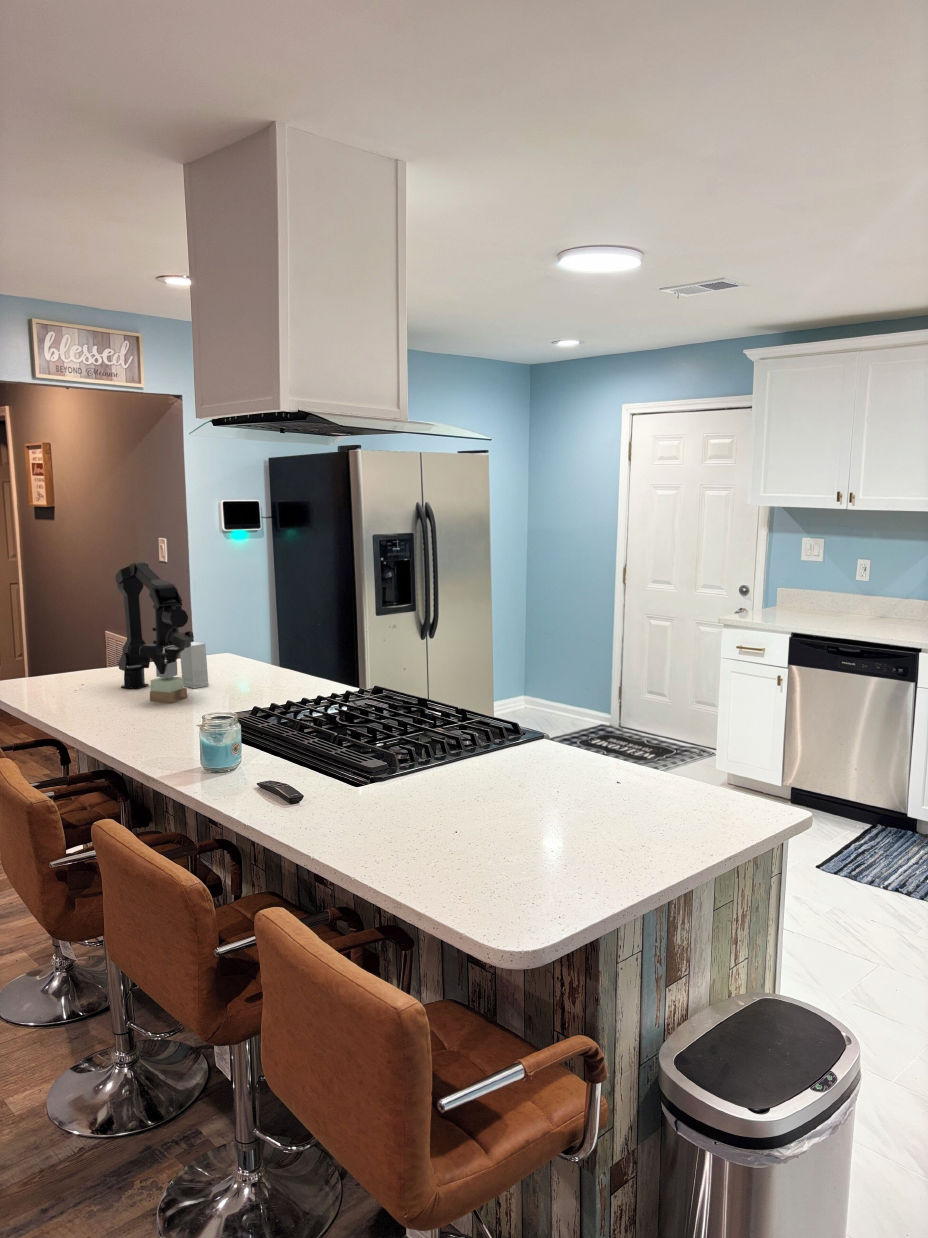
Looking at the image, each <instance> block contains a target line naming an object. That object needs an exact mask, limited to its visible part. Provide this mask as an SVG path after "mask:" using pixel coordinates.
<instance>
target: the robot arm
mask: <svg viewBox="0 0 928 1238" xmlns="http://www.w3.org/2000/svg"><path fill="white" fill-rule="evenodd" d="M115 582H116V583H117V589H118V591H119V592H120V593H121V594H122V596H123V604H124V617H125V630H126V641H125V643H124V644H123V646H122V654H121V656H120V659H119V660H118V663H117V664H118V669H119V670H121V671H122V672H123V683H124V684H122V685H121V687H120V688H122V689H123V688H124V689H134V690H138V689H140V688H144V687H147V686H149V683H146V681H145V669H149V668H150V663H151V660H152V662H153V664H154V665H155V667H157V669H158V671H159V673H160V674H164V665H165V660H168V661H177V662H178V657H179V656H180V653H181V652H182V651H183V650H184V648H189V647H190V646H191V642H194V641H195V640H194V632H193V631H191V630H187V631H185V632H180V631H179V628H183V627H184V626H186V625H187V623H188V622H189V621H188V620H189V615H188V614H187V611H185V610H184V609H182V606H183V602H182V601H183V599H182V597H181V596H180V593H179V591H178V588H177V587H176V586H175V584H173V583H172V582H171V581H168V580H164V579H162V578H160V577H159V576H158V575H157V573H155V571H153V570H152V569H151V568H150V567H149V563H148V562H147V563H146V562H132V563H130V565H128V566H126V567H124V568H121V569H119V570H118V571H117V572H116V574H115ZM144 587H146V588H147V590H148V591H149V593H148V594H149V595H148V596H149V598H150V599H151V601H152V602H153V605H152V609H153V610H154V623H155V624H154V625H155V626H154V627H152V632H155V639H154V640H152V643H146V642H145V640H144V639H143V632H142V631H143V630H142V618H141V607H140V606H141V605H140V604H141V603H140V594H141V592H142V590H143V588H144ZM165 658H166V659H165Z"/></svg>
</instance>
